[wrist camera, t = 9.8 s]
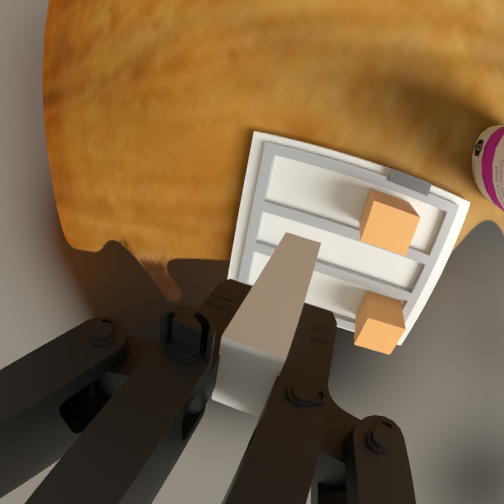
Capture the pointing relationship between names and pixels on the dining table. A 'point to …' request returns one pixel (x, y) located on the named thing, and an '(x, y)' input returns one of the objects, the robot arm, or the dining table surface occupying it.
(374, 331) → the tab
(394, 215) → the orange block
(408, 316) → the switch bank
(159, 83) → the dining table surface
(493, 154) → the supplement can
